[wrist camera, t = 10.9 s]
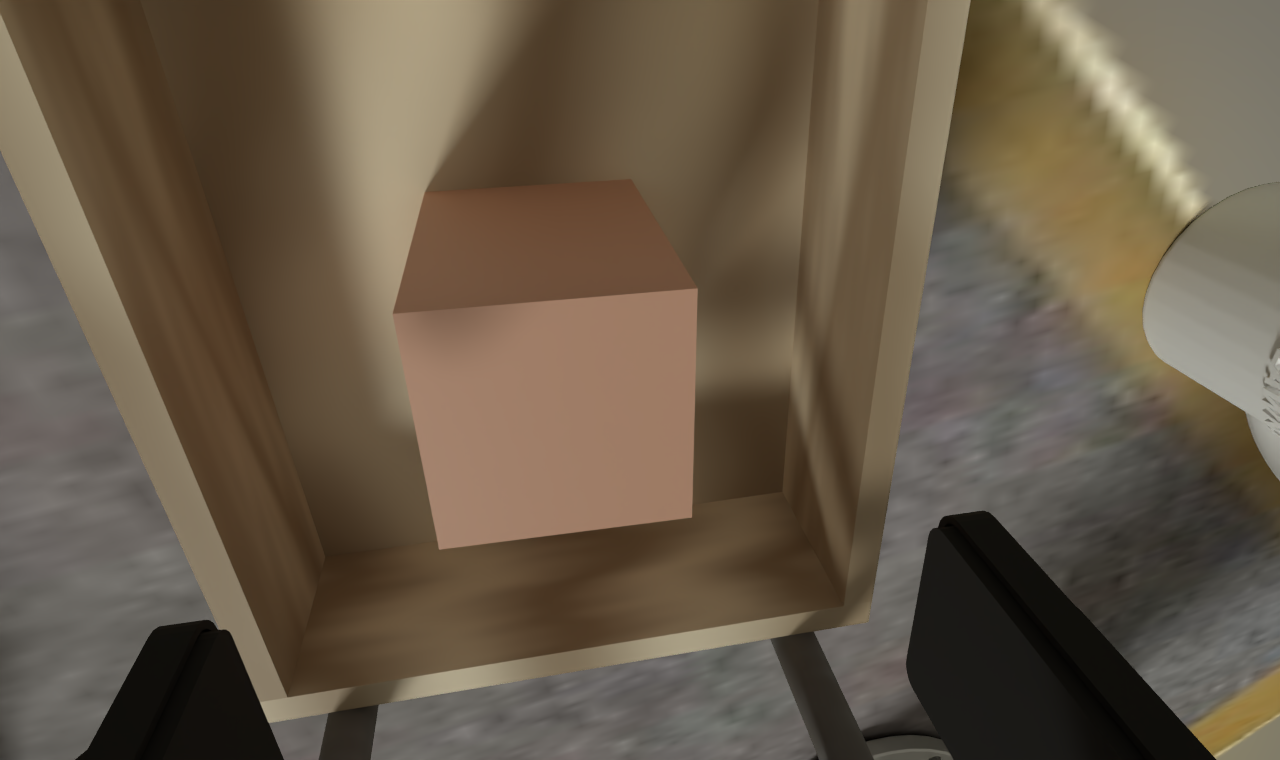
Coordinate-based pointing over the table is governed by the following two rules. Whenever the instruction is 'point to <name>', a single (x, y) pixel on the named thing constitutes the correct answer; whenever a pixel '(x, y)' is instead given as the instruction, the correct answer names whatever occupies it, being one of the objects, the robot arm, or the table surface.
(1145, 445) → the table surface
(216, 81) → the cart
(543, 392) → the block
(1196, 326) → the mug
